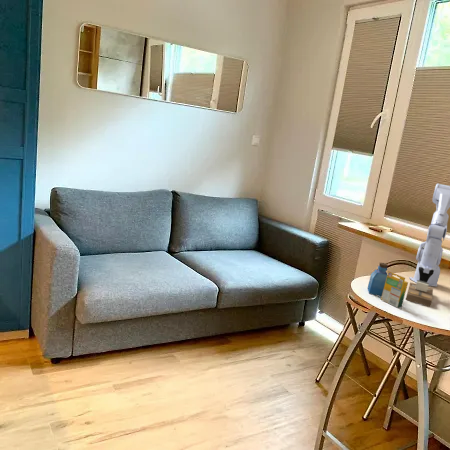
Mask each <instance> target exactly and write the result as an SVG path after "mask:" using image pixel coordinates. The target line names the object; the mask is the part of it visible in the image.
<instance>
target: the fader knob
mask: <svg viewBox="0 0 450 450" xmlns="http://www.w3.org/2000/svg"><path fill="white" fill-rule="evenodd" d="M415 284H416V287H415V289H417V290H421V291H424V292H427V289H428V287H430V286H429V283H427V282H423V281H420V280H417V283H416V282H415Z"/></svg>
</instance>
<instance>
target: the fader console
mask: <svg viewBox="0 0 450 450" xmlns="http://www.w3.org/2000/svg"><path fill="white" fill-rule="evenodd" d="M415 287H416V282H411V281H410V282H409V285H408V289H407V292H406V293H407V294H406V295H405V300H406V301H409V302H410V303H411V302H412V303H415V304H418V305H422V306H425V307H429V308H431V305H432V302H433V297H434V296H433V294H434V293H433V292H434V288H432V287H430V286H428V289H427V292H424V291H421V290H417V289H415Z"/></svg>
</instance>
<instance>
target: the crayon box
mask: <svg viewBox="0 0 450 450" xmlns="http://www.w3.org/2000/svg"><path fill="white" fill-rule="evenodd" d="M387 271H388V270H387ZM387 274H388V275H387V278H386V282H385V286H384V290H383V293H382V296H380V297H381V298H380V300H381V302H382V301H383V302H384V303H387V304H389V305H391V306H393V307H396V308H397V309H398V308H402V307H403V303H404V298H405V297H406V293H407V292H406V291H407V290H408V289H407V288H408V286H409V285H408V284H409V282H408V281H406V277H404V276H401V275H399V274H397V273H395V272H392V271H388V272H387Z"/></svg>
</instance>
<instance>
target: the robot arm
mask: <svg viewBox="0 0 450 450" xmlns="http://www.w3.org/2000/svg"><path fill="white" fill-rule="evenodd" d="M431 199H432V203H433V204H434V205H435V208H436V210H435V211H434V212H433V215H432V219H431V222H430V225H429V226H428V230H427V234H426V238H425V239H426V240H425V241H422V242H421V243H420V244H419V247H418V248H417V249H418V250H417V253H416V257H415V260H416V261H417V265H416V269H415V272H414V275H413V277H412V276H409V279H410V280H411V281H413V283H415V284H416V283H417V280H420V281H423V282H427V283H429V286H428V287H438V282H439V278H440V275H441V267H440V266H439V265H440V264H441V260H442V256H443V251H444V249H443V247H442V244H443V242H444V240H445V238H446V235H447V232H448V222H449V214H448V210H449V209H450V185H446V184H441V183H436V184H435V187H434V192H433V194H432V198H431Z"/></svg>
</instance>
